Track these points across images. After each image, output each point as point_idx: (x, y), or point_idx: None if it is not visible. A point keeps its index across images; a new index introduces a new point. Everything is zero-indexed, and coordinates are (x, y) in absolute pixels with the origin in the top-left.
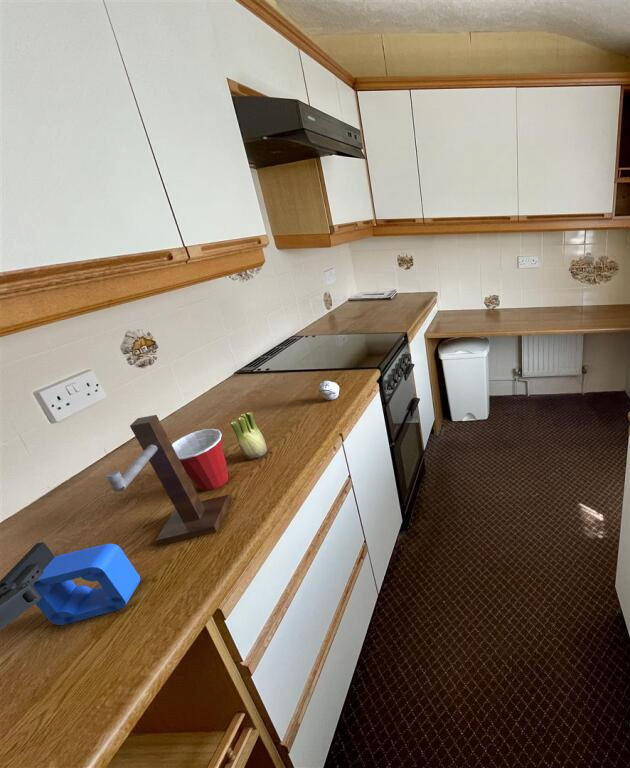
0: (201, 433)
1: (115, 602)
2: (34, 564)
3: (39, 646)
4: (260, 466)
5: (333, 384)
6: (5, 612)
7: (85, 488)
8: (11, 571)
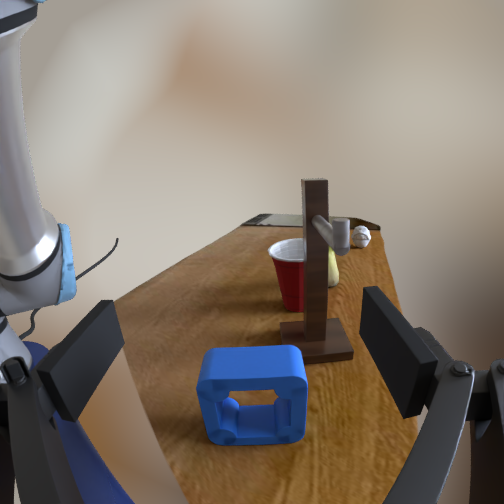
0: (294, 242)
1: (292, 433)
2: (418, 329)
3: (203, 466)
4: (341, 295)
5: (367, 230)
6: None
7: (160, 290)
8: (406, 334)
